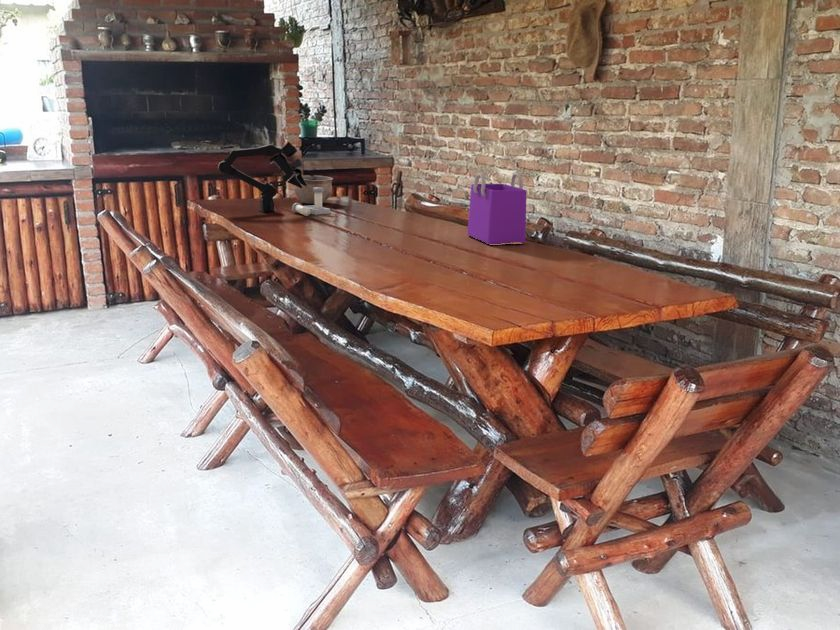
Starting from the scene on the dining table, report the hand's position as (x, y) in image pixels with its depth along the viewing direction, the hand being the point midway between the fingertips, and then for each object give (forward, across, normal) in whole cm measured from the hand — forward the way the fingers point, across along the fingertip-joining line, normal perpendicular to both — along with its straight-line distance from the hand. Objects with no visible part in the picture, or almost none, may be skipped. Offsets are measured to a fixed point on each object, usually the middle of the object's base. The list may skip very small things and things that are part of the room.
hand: (304, 186), depth 431 cm
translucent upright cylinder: (+14, 0, +4) cm, 15 cm away
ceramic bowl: (+8, +36, +12) cm, 39 cm away
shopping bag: (+80, -61, -64) cm, 120 cm away
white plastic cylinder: (+9, -8, +10) cm, 16 cm away
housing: (+13, +3, +6) cm, 15 cm away
